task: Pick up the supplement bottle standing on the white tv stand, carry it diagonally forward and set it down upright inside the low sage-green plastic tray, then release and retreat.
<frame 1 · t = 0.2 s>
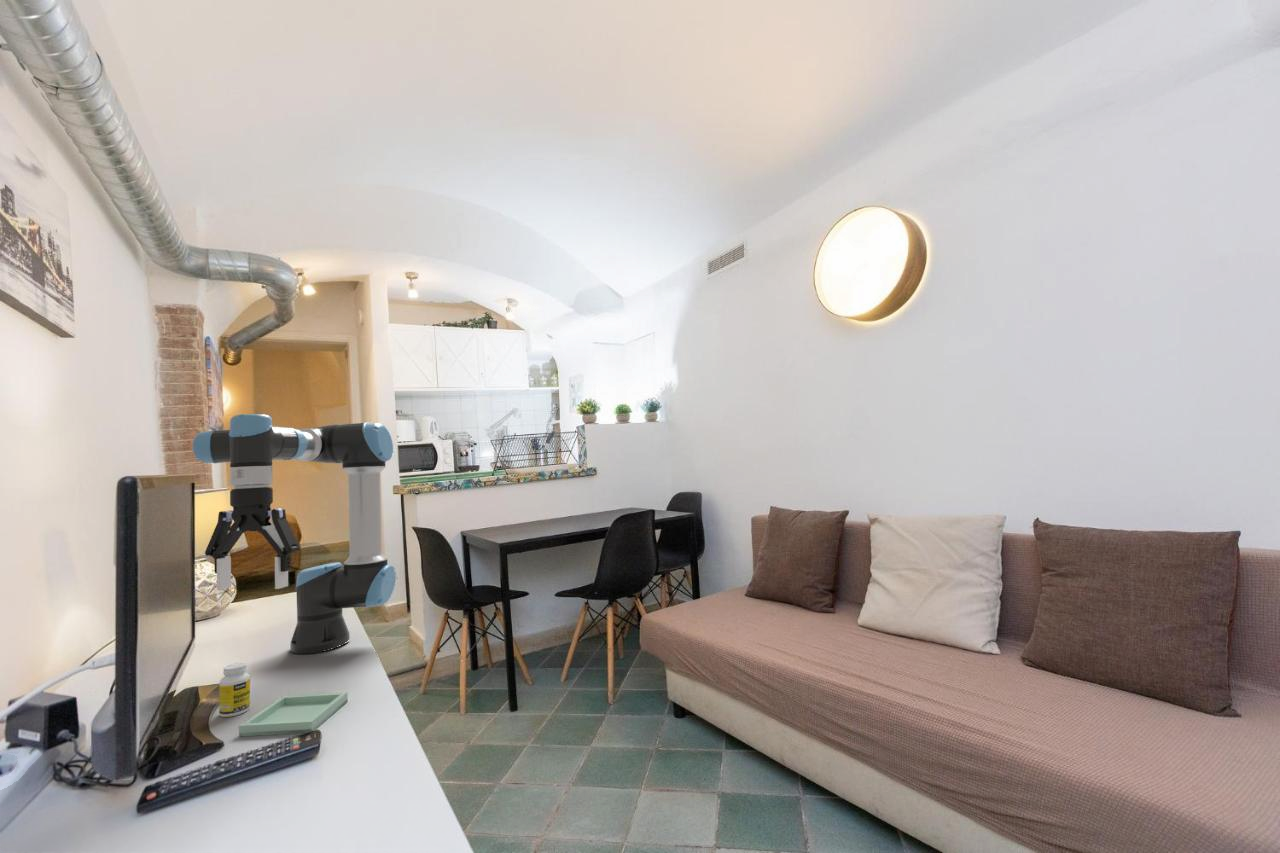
hand: (252, 588, 120), 27 cm above the tv stand, fingers open, 13 cm apart
supplement bottle: (235, 713, 122), on the tv stand
tray: (296, 718, 118), on the tv stand
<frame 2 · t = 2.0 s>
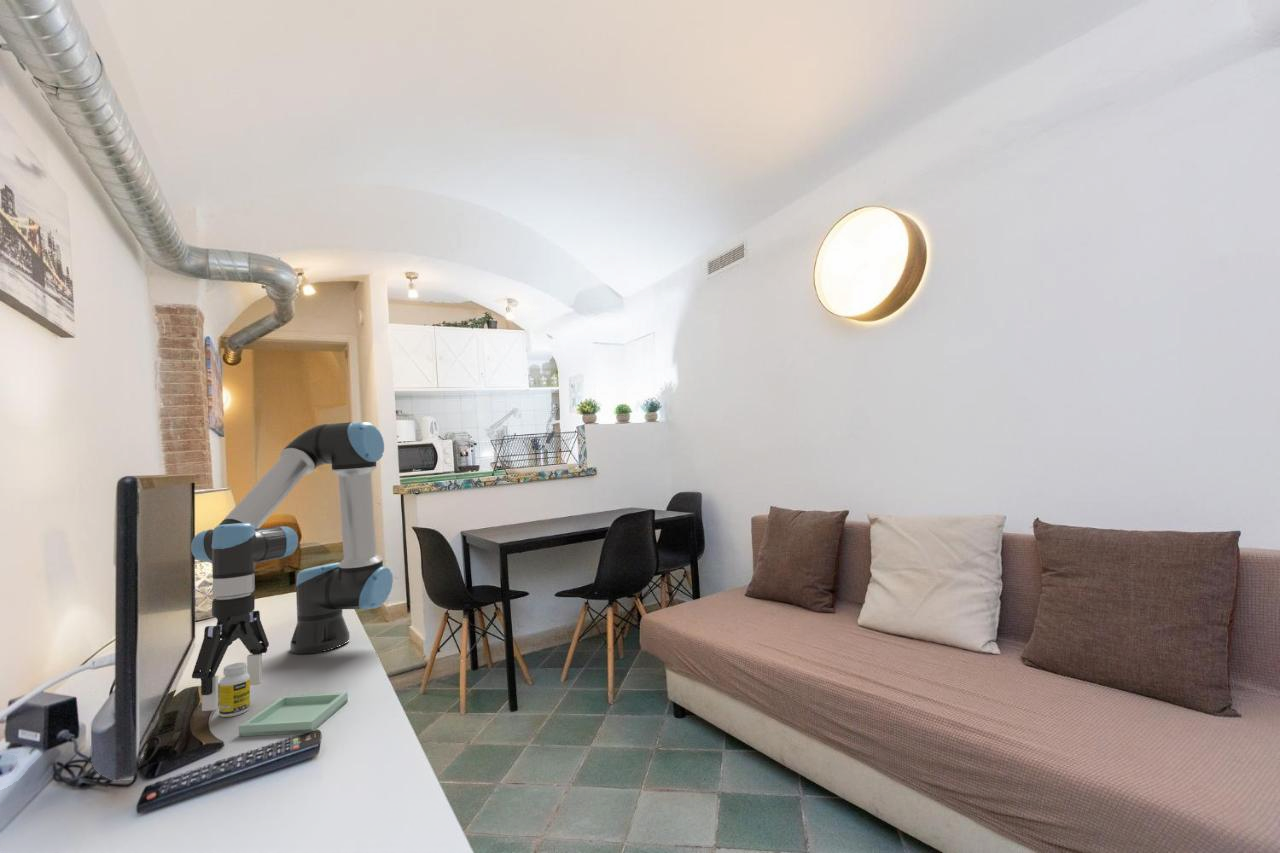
hand: (233, 696, 122), 3 cm above the tv stand, fingers open, 13 cm apart
nothing on the tv stand moved.
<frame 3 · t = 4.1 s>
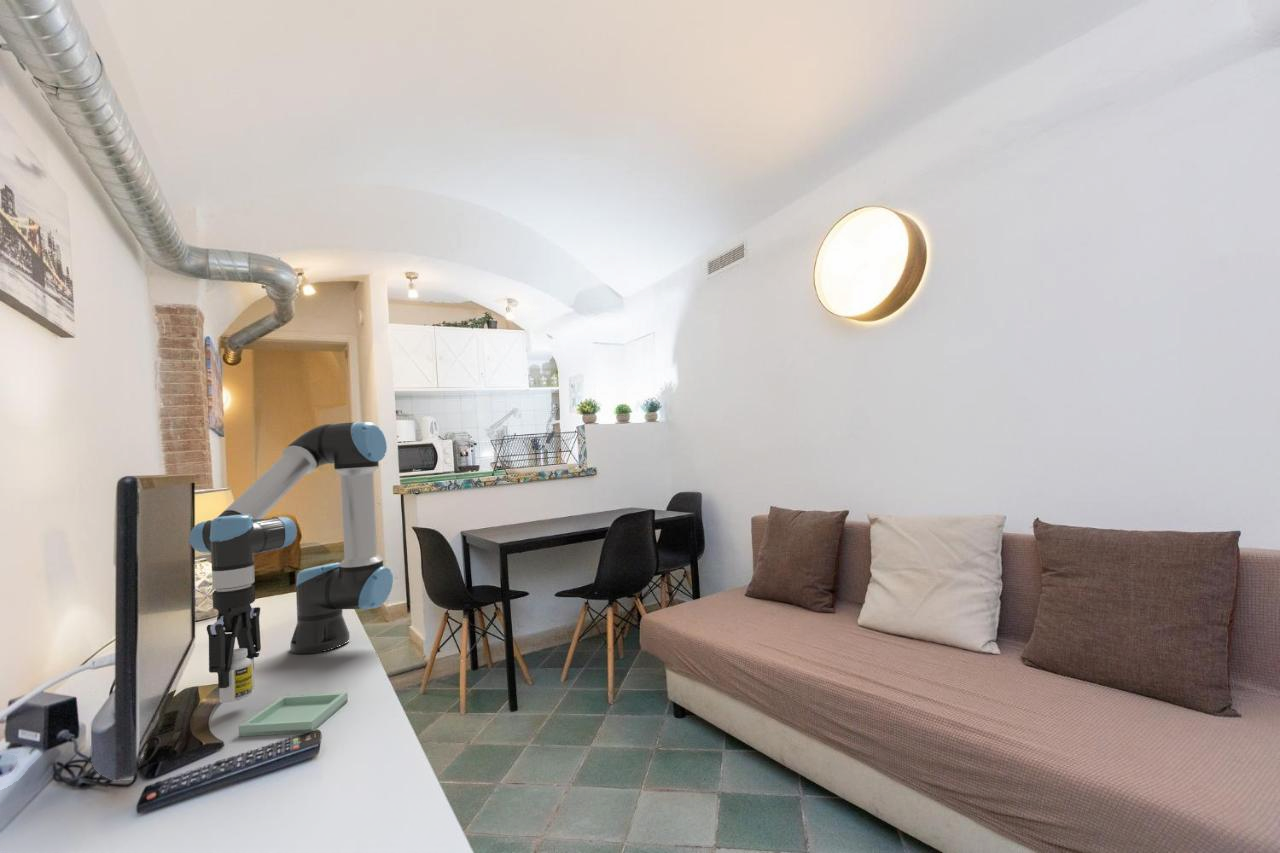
hand: (237, 695, 123), 3 cm above the tv stand, fingers closed on supplement bottle, 5 cm apart
supplement bottle: (237, 697, 123), point 3 cm above the tv stand, touching gripper
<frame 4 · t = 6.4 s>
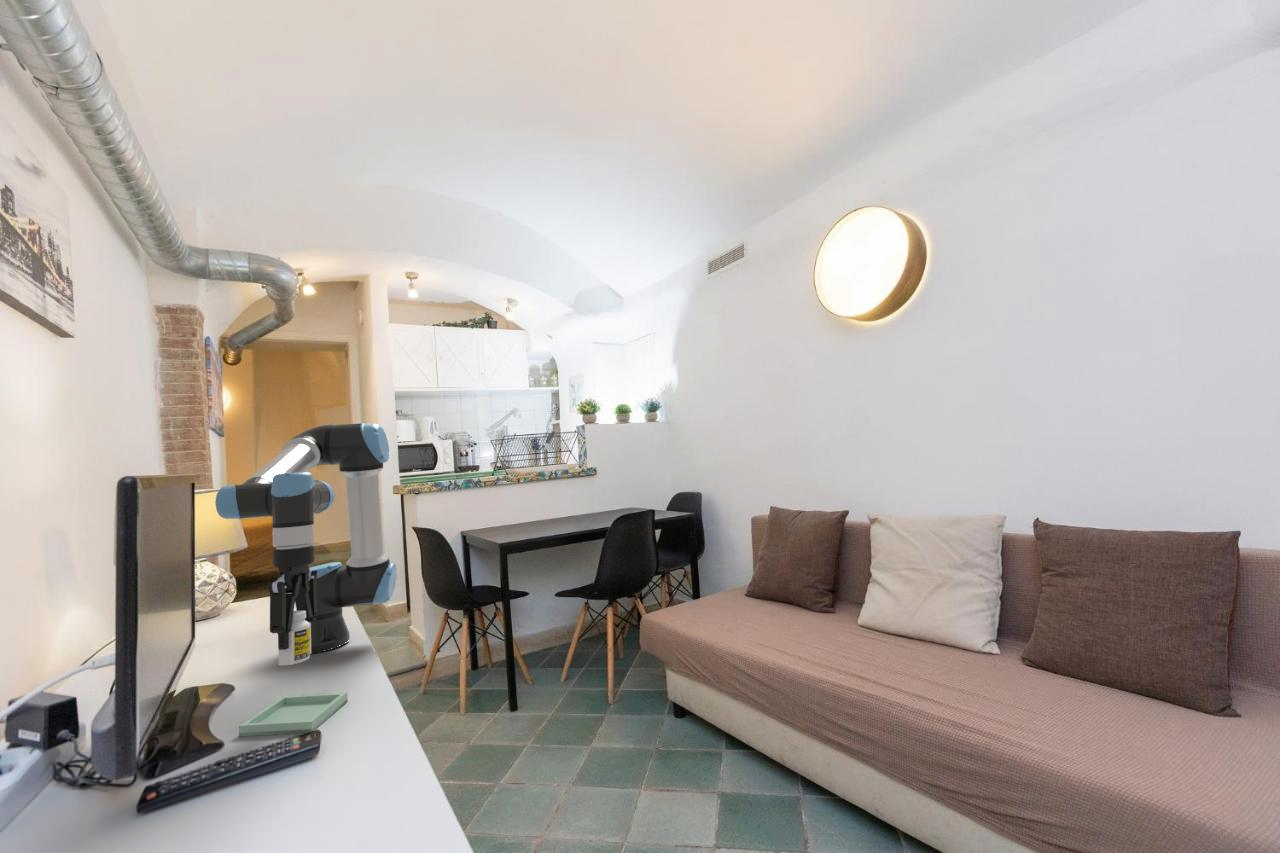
hand: (295, 659, 118), 12 cm above the tv stand, fingers closed on supplement bottle, 5 cm apart
supplement bottle: (295, 661, 118), point 11 cm above the tv stand, touching gripper
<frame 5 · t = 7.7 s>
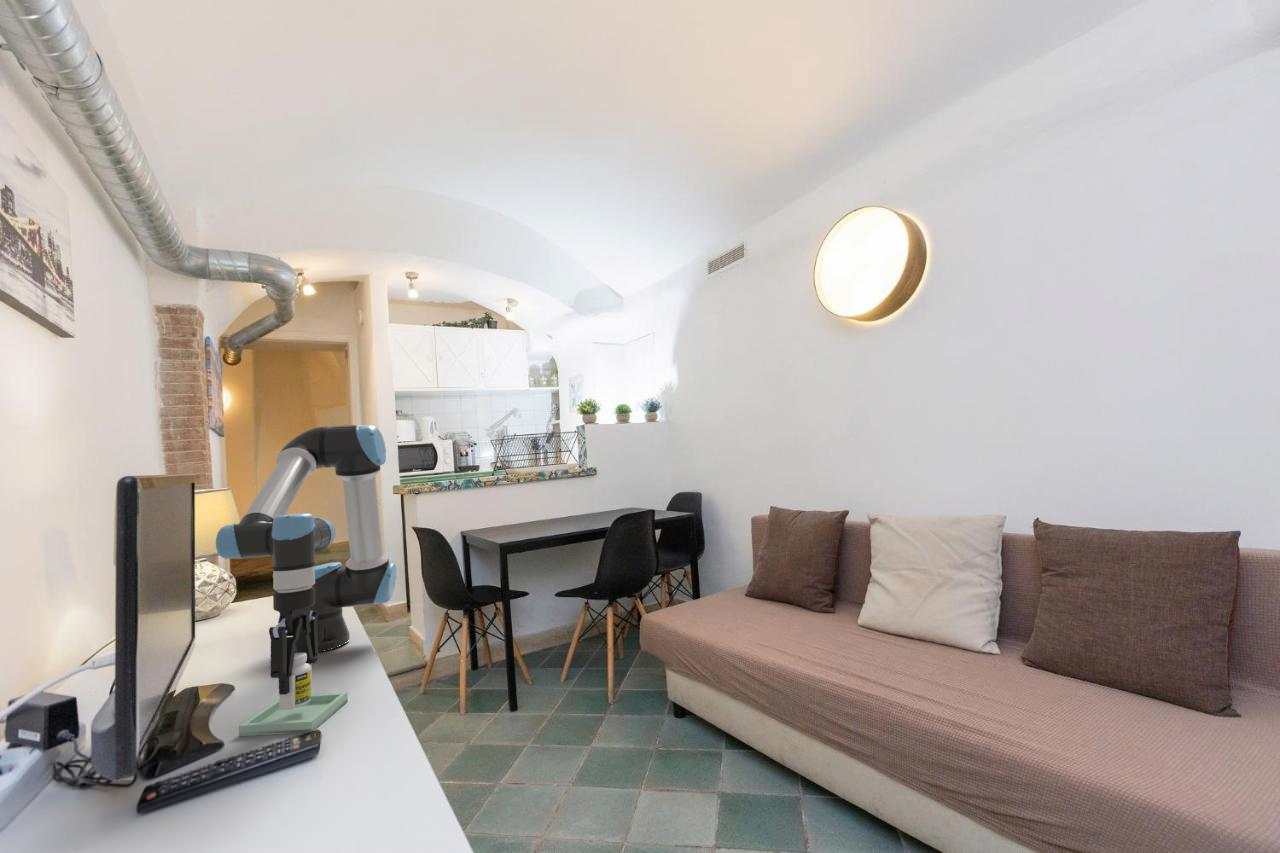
hand: (296, 702, 118), 3 cm above the tv stand, fingers closed on supplement bottle, 5 cm apart
supplement bottle: (296, 704, 118), point 3 cm above the tv stand, touching gripper
when the fingers open (2 cm above the tv stand, at t = 8.8 s): supplement bottle stays where it is, resting on tray.
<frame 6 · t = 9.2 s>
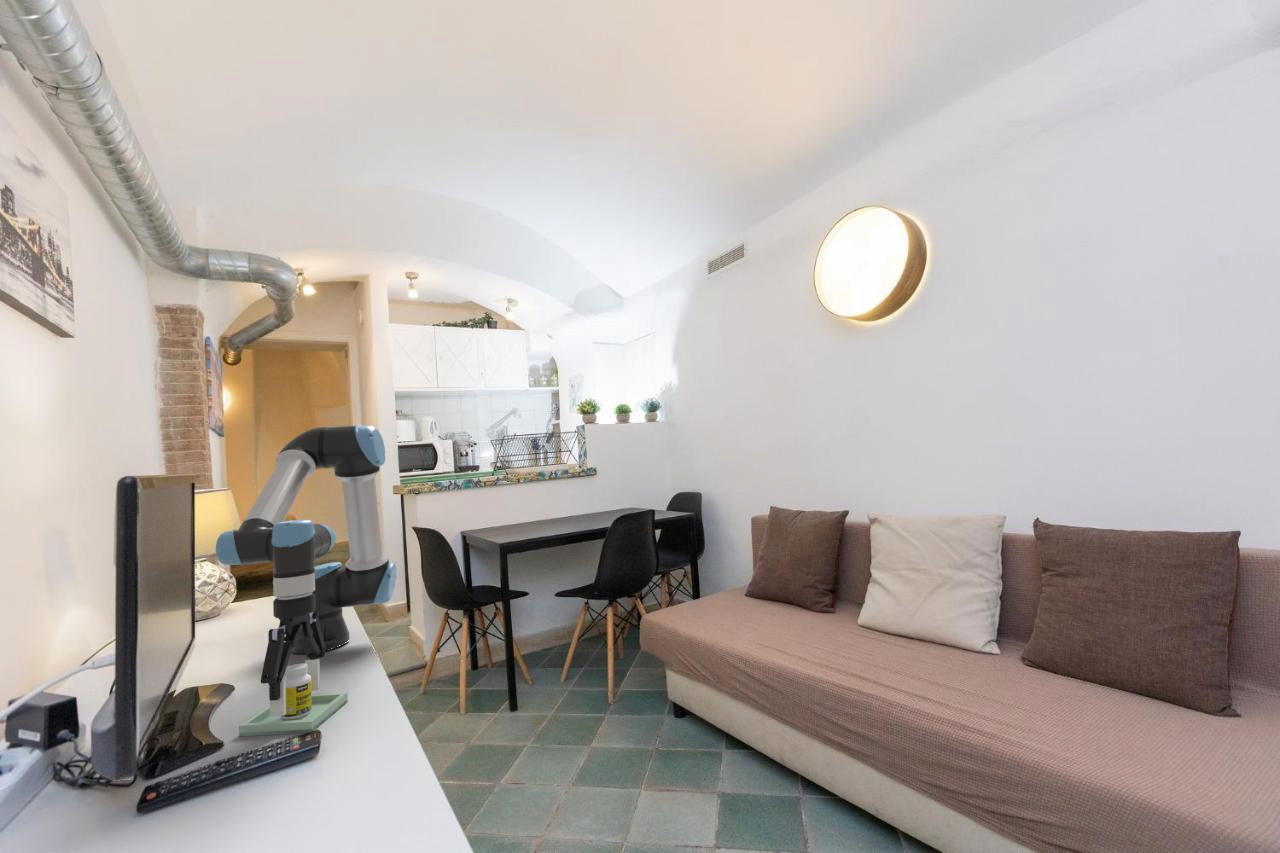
hand: (296, 702, 118), 3 cm above the tv stand, fingers open, 11 cm apart
supplement bottle: (296, 715, 118), resting on tray
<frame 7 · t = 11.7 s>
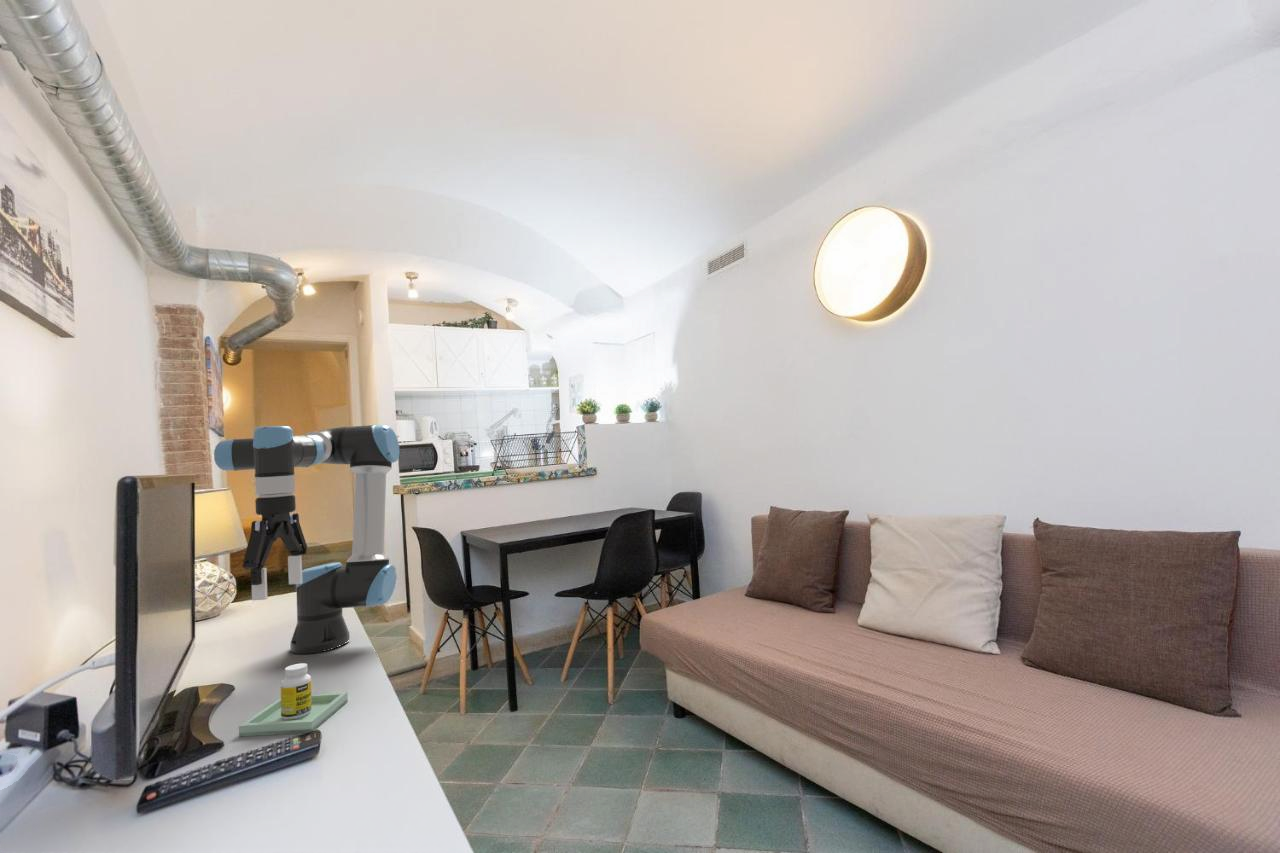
hand: (278, 591, 127), 24 cm above the tv stand, fingers open, 13 cm apart
nothing on the tv stand moved.
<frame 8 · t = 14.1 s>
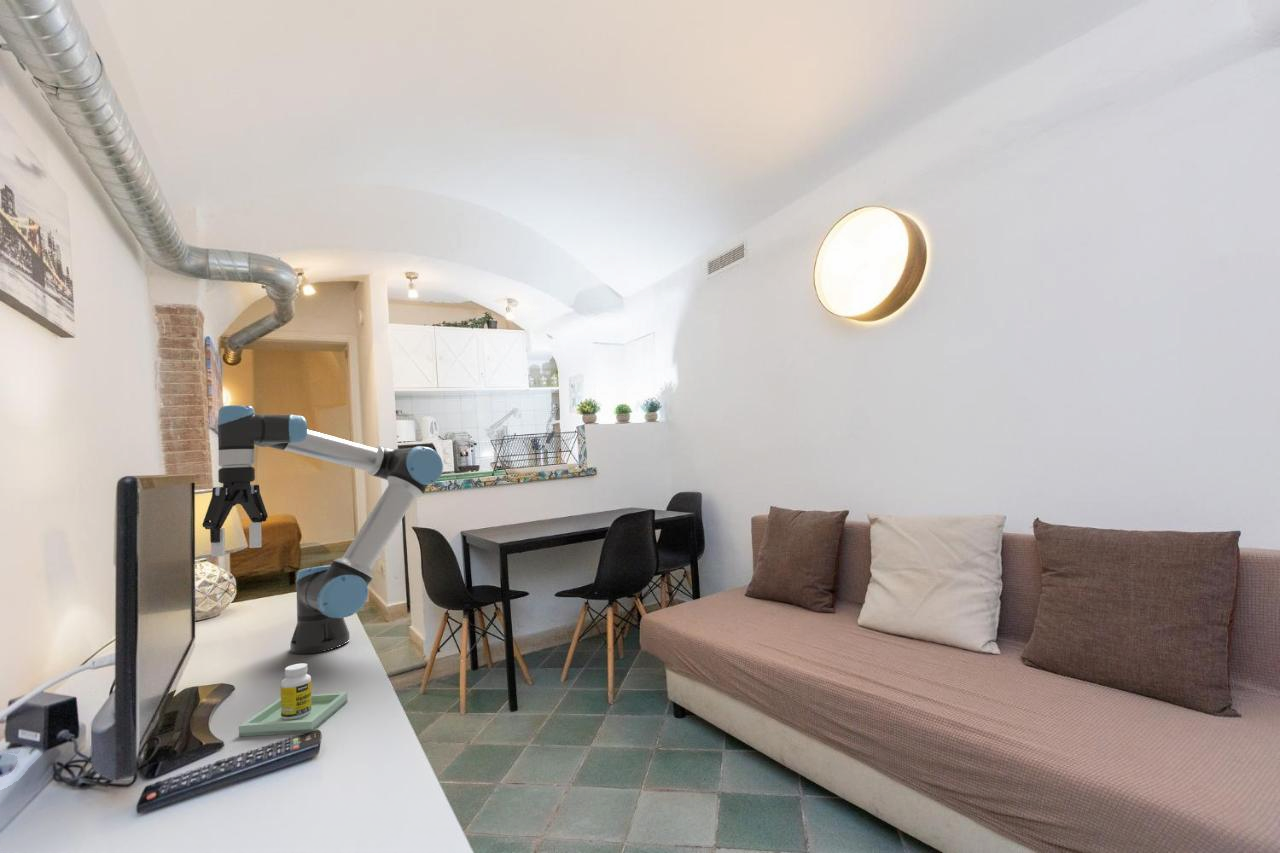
hand: (237, 551, 143), 32 cm above the tv stand, fingers open, 13 cm apart
nothing on the tv stand moved.
at the end: supplement bottle inside the target area on the tray (0.1 cm from its centre), point 0.4 cm above the tray's base; supplement bottle tilted 0°; the gripper is holding nothing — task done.
